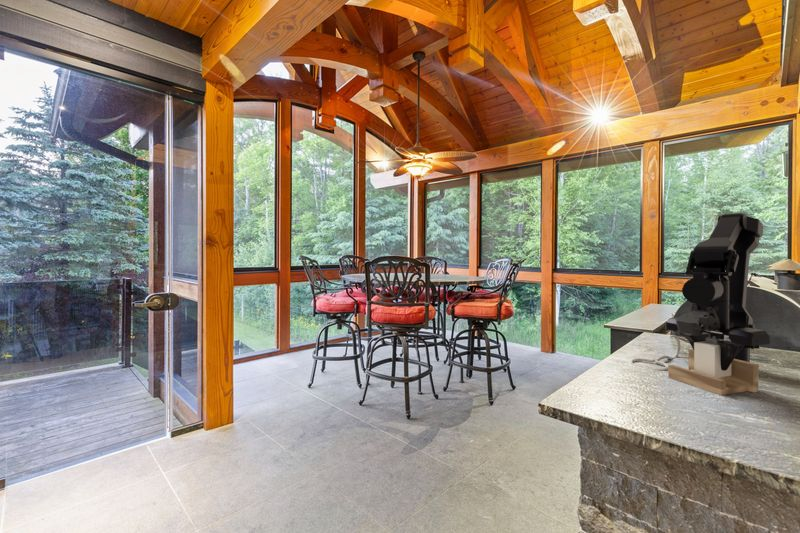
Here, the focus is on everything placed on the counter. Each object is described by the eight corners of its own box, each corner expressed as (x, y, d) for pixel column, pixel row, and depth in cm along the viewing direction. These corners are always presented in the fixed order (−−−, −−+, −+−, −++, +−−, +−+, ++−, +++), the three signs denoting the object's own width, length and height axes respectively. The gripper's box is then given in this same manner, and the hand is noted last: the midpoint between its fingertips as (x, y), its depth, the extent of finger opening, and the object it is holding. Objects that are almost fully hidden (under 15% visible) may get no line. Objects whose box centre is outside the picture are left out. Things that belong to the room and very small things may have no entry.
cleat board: (693, 372, 95) (693, 348, 94) (758, 391, 81) (758, 364, 81) (664, 376, 92) (664, 352, 92) (726, 396, 79) (726, 368, 79)
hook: (699, 359, 106) (663, 383, 96) (662, 352, 114) (625, 373, 104) (697, 334, 105) (660, 356, 95) (660, 329, 113) (623, 348, 103)
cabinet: (710, 369, 88) (710, 335, 88) (731, 375, 84) (731, 339, 84) (694, 371, 87) (694, 337, 87) (714, 377, 83) (714, 341, 83)
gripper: (647, 297, 92) (648, 359, 93) (731, 307, 74) (731, 384, 75) (683, 295, 95) (683, 355, 95) (771, 304, 77) (771, 378, 77)
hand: (712, 367), depth 86 cm, fingers closed on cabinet, 4 cm apart
